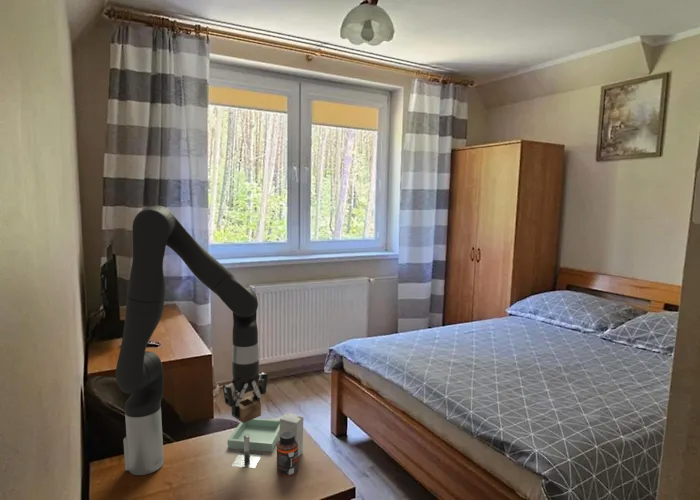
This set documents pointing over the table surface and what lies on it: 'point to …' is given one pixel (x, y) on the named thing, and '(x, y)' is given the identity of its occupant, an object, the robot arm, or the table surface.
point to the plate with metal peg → (247, 456)
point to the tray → (256, 434)
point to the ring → (249, 409)
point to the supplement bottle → (287, 454)
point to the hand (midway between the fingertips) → (246, 412)
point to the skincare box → (293, 428)
